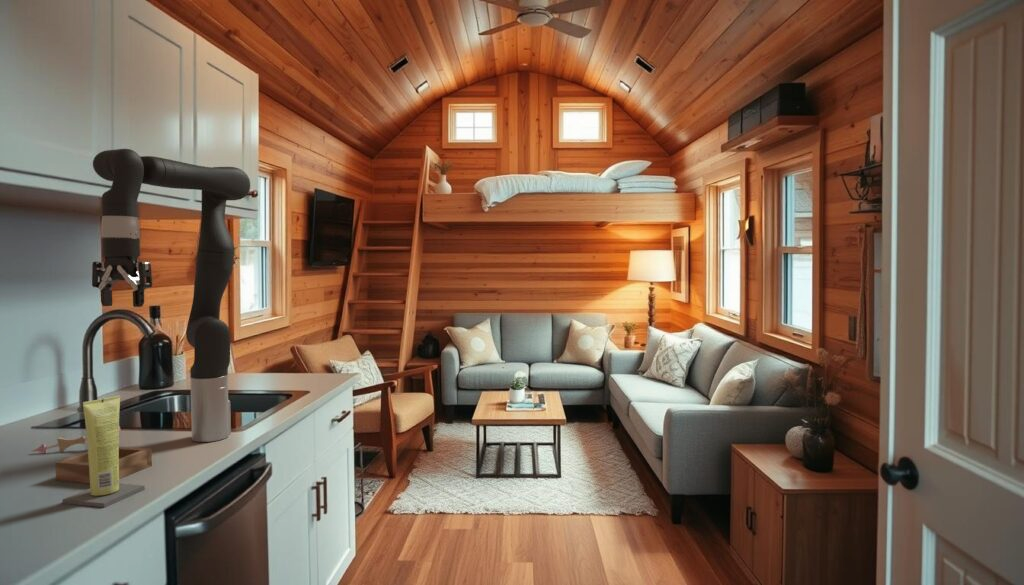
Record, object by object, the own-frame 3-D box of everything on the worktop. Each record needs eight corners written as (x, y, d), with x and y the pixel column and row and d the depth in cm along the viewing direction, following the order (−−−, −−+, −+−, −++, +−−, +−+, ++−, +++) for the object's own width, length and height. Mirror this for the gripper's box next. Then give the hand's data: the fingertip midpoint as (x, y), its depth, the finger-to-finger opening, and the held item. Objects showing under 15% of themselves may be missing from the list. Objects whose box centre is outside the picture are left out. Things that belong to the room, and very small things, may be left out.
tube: (96, 488, 129) (92, 396, 128) (123, 485, 130) (120, 394, 130) (86, 498, 124) (82, 402, 123) (115, 495, 125) (111, 400, 124)
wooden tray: (106, 461, 149) (105, 445, 149) (151, 465, 146) (151, 449, 146) (55, 480, 136) (55, 462, 136) (105, 484, 133) (104, 466, 133)
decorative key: (35, 464, 156) (124, 444, 162) (33, 465, 155) (122, 446, 161) (29, 438, 156) (118, 420, 161) (27, 439, 154) (117, 421, 160)
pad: (105, 485, 133) (105, 482, 133) (144, 489, 131) (144, 485, 131) (62, 503, 123) (62, 499, 123) (104, 507, 121) (104, 503, 121)
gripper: (80, 236, 140) (82, 307, 141) (133, 235, 137) (135, 308, 138) (108, 237, 147) (110, 305, 148) (159, 237, 144) (161, 305, 145)
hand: (122, 306), depth 143 cm, fingers open, 8 cm apart
